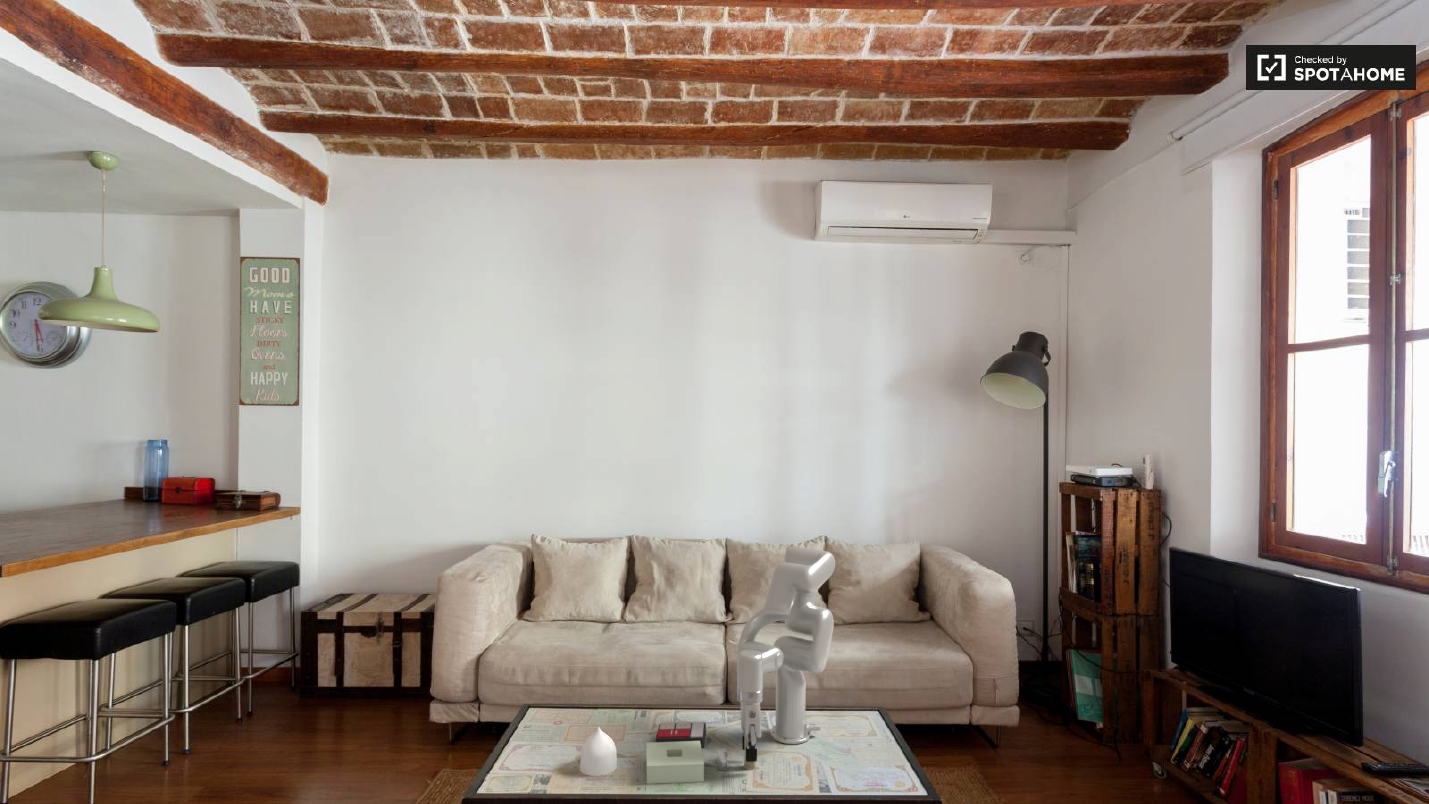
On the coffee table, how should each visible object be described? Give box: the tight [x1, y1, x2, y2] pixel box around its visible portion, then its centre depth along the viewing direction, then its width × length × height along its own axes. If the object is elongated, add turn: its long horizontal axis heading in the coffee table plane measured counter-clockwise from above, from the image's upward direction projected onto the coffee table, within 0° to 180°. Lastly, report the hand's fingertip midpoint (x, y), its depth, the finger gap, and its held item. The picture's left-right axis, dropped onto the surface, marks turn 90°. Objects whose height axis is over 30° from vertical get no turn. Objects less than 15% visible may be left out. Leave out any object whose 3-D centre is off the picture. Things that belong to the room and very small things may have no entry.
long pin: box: [743, 734, 756, 771], centre depth 214 cm, size 3×3×11 cm
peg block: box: [646, 741, 705, 785], centre depth 212 cm, size 16×14×5 cm
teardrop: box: [579, 726, 618, 777], centre depth 214 cm, size 11×11×12 cm
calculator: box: [655, 721, 707, 750], centre depth 231 cm, size 11×4×15 cm
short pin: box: [716, 748, 729, 772], centre depth 213 cm, size 3×3×5 cm
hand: (749, 754), depth 214 cm, fingers open, 6 cm apart
